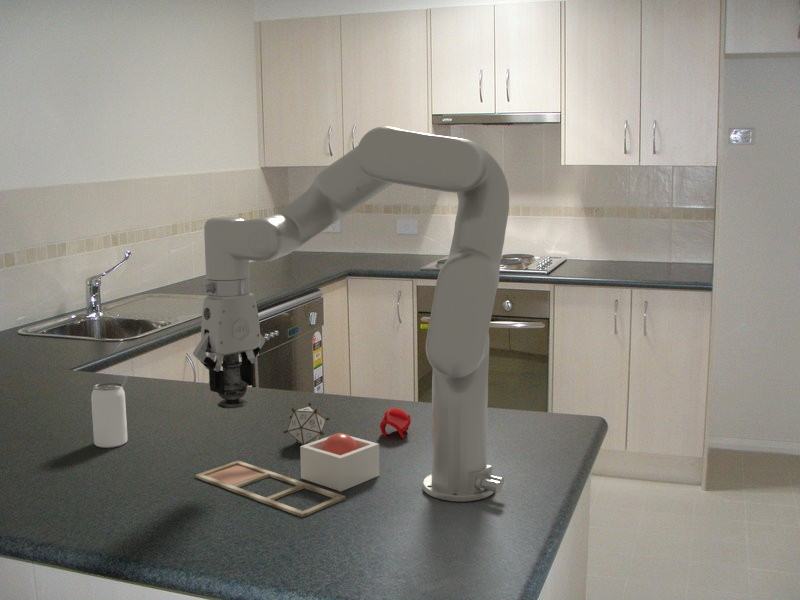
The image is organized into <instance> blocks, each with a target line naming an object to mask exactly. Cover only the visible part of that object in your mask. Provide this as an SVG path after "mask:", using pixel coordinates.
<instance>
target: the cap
mask: <svg viewBox="0 0 800 600" xmlns="http://www.w3.org/2000/svg"><path fill="white" fill-rule="evenodd" d="M411 420H412V418H411V415H410V414H407V412H406V411H404V410H403V409H400V408H395V407H394V408H389V409H387V410H386V411H385V412H384V414H383V417H382V419H381V421H380V423H379V428H380V430H381V433H382V435H383V436H384V437H387V436H388V434H387V431H386V428H387V425H388V426H391V427H392V428H394V429H396V430H397V432H398V433H399V436H400V438H401V439H402V440H404V439H406V438H405V437H406V436H405V434H404V432H406V431H408V430H409V427H410V425H411Z"/></svg>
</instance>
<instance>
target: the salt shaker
mask: <svg viewBox="0 0 800 600" xmlns="http://www.w3.org/2000/svg"><path fill="white" fill-rule="evenodd" d="M240 362H241V361H240V355H239V353H235V354H231V355H225V356H224V358H223V361H222V365H221V368H222V371H223V372H224V392H223V393H217V394H218V396H219V397H220V398H221V399H222V400H220V401H219V402H217V404H216V405H217V407H218V408H222V409H239V408H243V407H245V406H247V405H248V402H247V400H245V399H243V397H245V395H246V392H247V390H248V387H249V386H248V383H247V382H244V381H242V380H241V377H240V365H241V363H240Z"/></svg>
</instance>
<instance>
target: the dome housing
mask: <svg viewBox="0 0 800 600" xmlns="http://www.w3.org/2000/svg"><path fill="white" fill-rule="evenodd" d="M330 436H331V435H329V436H326V437H323V438H320V440H317V441H314V442H311V443H308V444H306V445H301V446H299V448H300V452H299V453H300V454H299V455H300V479H302V480H305V481H308V482H311V483H314V484H317V485H320V486H324V487H326V488H329V489H332V490H336V491H338V492H343V491H346V490H348V489H350V488H353V487H356V486H358V485H360V484H362V483H364V482H367V481H370V480H372V479H374V478H377V477H379V476H380V444H379V443H378V442H373V441H370V440H367V439H362V438H359V437H355V436H351V435H349V436H350V437H351V438H353V440H354V441H355V443H356V445H357V448H358V449H357V450H354V451H351V452H349V453H346V454H343V455H341V456H340V455H337V454H333V453H330V452H327V451H323V450H322V448H323V444H324V442H325V441H326V440H327V439H328V438H329V437H330Z"/></svg>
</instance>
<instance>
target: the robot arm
mask: <svg viewBox="0 0 800 600" xmlns="http://www.w3.org/2000/svg"><path fill="white" fill-rule="evenodd" d="M393 184H396V185H402V186H407V187H414V188H419V189H420V188H421V189H426V190H431V191H432V190H433V191H437V192H438V191H439V192H442V193H443V192H445V193H454V194H455V193H456V196H457V201H458V204H457V211H456V216H455V222H454V229H453V236H452V239H451V245H450V250H449V253H448V257H447V259H446V260H445V262H444V263H443V265H442V266H441V268H440V269H439V272H438V275H437V279H436V284H435V287H434V292H433V293H434V294H433V300H432V305H431V311H430V317H429V323H428V327H427V334H426V338H425V339H426V340H425V353H426V358H427V360H428V362H429V364H430V366H431V368H432V377H431V378H432V379H431V380H432V381H431V382H432V383H431V388H432V389H431V473H430V474H429V475H427V476H426V477H425V478H424V479H423V480H422V489H423V491H424V492H425V493H426V494H427V495H428V496H431V497H433V498H436V499H439V500H441V501H442V500H443V501H448V502H463V503H464V502H474V501H479V500H483V499H487V498H488V497H489V496H491V495H493V494H494V493H497V494H500V493H501V492H502V490H503V485H504V482H505V480H504V477H501V476H498V475H493V466H492V465H491V464H487V463H488V461H487V460H488V459H487V458H488V457H487V455H488V451H487V450H488V403H489V401H488V399H489V397H488V396H489V365H490V364H489V363H490V362H489V361H490V360H489V359H490V331H489V330H490V327H491V326H490V325H491V321H492V317H493V316H492V315H493V311H494V305H495V299H496V295H497V290H498V288H499V284H500V270H501V269H500V268H501V260H502V253H503V249H504V245H505V239H506V238H505V236H506V232H507V231H506V230H507V224H508V218H509V209H510V191H509V186H508V181H507V178H506V176H505V173H504V171H503V169H502V167H501V166H500V165H499V163H498V162H497V160H496V159H495V158H494V156H492V154H490V153H489V152H488V151H487V150H485V148H483V147H482V146H480V145H479V144H478V143H476V142H474V141H473V140H470V139H467V138H462V137H460V138H459V137H454V136H445V135H438V134H437V135H436V134H431V133H423V132H418V131H417V132H416V131H410V130H405V129H401V128H398V127H394V126H387V125H386V126H385V125H383V126H377V127H375V128H372V129H370V130H369V131H367V132H366V133H365V134H364V135H363V136H362V138H360V141H359V142H358V145H357V146H355V147H354V148H353V149H351V150H350V151H349V152H347V153H346V154H343V156H341V157H340V158H338V159H337V160H335V161H333V163H331V164H329V165H328V166H327V167H325V168H324V169H322V170H321V171H319V173H318V174H317V175H316V176H315V177H314V180H313V181H312V183H311V185H310V186H309V188H308V189H307V190H306V191H304V192H303V193H302V194H301V195H299V196H298V197H297V198H295V199H294V200H293V201H291V202H289V204H287V205H286V206H284V207H283V208H281V209H280V210H279V211H276V212H275V213H274V214H272V215H267V216H262V217H260V218H259V217H258V218H252V219H244V218H241V217H235V216H231V217H230V216H226V217H225V216H222V217H221V216H220V217H211V218H209V219H207V220H206V221H205V223H204V227H203V230H204V231H203V234H204V235H203V236H204V238H203V239H204V259H205V260H204V262H205V281H206V284H203V285H202V287H201V291H202V292H203V293H206V297H203V304H202V312H201V326H200V327H201V328H200V331H201V333H200V335H201V338H200V341H199V342H198V344H197V346H196V348H195V349H194V350H193V352H192V356H194V357H195V358H196V359H197V360H198V361H199V362H200V363H201V364H202V365H203V366H204V367H205V369H206V370H208V379H209V380H208V381H209V390H210V391H211V392H214V393H217V394H218V393H223V392H224V372H223V369H221V368H222V366H221V365H222V363H223V358H224V356H225V355H231V354H235V353H239V359H240V360H241V361H239V362H240V363H241V365H240V377H241V380H242V381H244V382H247V383H248V386H247V387H250V386H253V385H254V369H253V368H254V367H253V366H254V365H253V364H255V363H256V360H257V359H256V358H257V356H258V355H259V353H260V350H261V349H262V348H263V346H264V344H265V343H266V338H265V337H264V336H263V334H261V329H260V327H261V326H260V318H259V316H260V315H259V310H258V305H257V301H256V298H255V294H254V293H252V292H251V282H250V281H251V280H250V279H251V278H250V276H251V275H250V272H251V270H250V261H252V262H260V263H266V262H267V263H268V262H272V261H275V260H278V259H279V258H282V257H285V256H287V255H289V254H291V253H293V252H294V251H296V250H298V249H299V248H301V247H302V246H304V245H305V244H306V243H307V242H309V241H310V240H312V239H314V238H315V237H317V236H319V235H320V234H321V233H322V232H324V231H325V230H327V229H328V228H329V227H331V226H332V225H333V224H335V223H336V222H337V223H338V221H341V220H342V219H344V218H345V217H346V216H348V215H349V214H350V213H352V212H354V211H355V210H357V209H358V208H360V207H361V206H362V205H364V204H365V203H367V202H368V201H370V200H371V199H372V198H373V197H375V196H377V195H378V194H380V193H381V192H382V191H385V190H386V189H387V188H389V187H390V186H391V185H393ZM207 353H208V355H207Z"/></svg>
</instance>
